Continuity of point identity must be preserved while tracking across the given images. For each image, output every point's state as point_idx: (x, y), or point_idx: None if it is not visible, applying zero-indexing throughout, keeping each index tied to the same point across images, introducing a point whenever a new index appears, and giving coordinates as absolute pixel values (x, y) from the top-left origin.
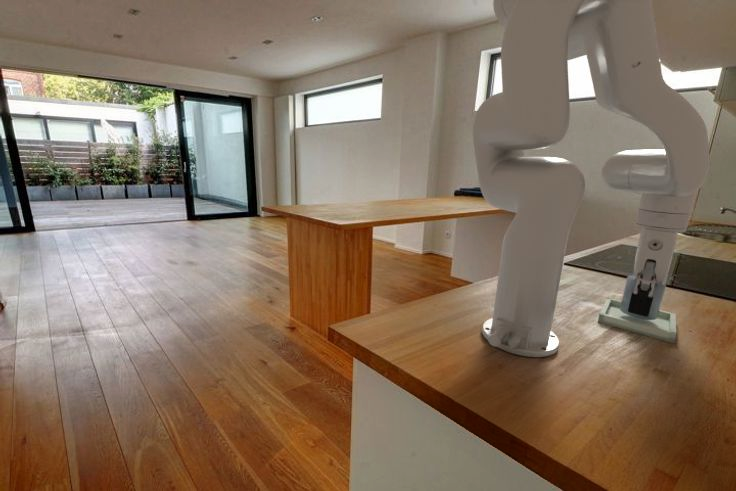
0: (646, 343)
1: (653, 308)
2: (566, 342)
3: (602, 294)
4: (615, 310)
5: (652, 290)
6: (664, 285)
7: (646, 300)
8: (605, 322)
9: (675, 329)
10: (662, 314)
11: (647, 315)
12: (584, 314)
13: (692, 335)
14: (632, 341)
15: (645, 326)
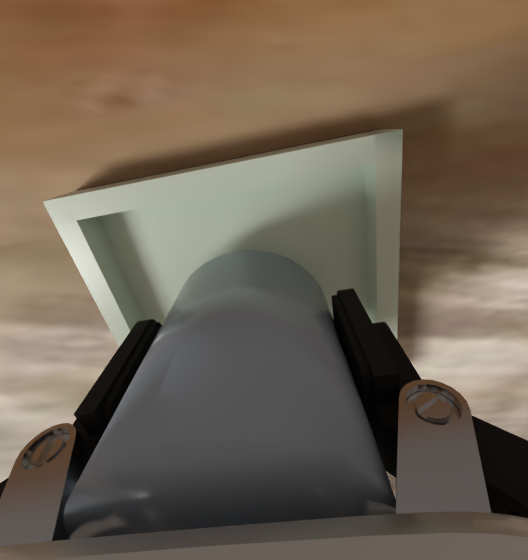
0: (472, 214)
1: (312, 301)
2: None
3: None
4: None
5: (475, 452)
6: (263, 444)
7: (417, 376)
8: None
9: (325, 148)
10: (100, 245)
11: (355, 292)
12: None
13: (175, 78)
14: (488, 255)
15: (398, 261)
